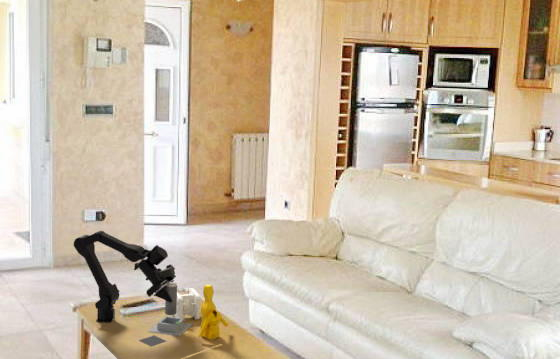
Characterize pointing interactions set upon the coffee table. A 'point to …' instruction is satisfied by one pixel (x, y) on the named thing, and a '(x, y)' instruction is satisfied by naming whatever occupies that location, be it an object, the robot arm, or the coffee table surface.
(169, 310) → the grey cylindrical piece
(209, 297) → the figure statuette
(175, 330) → the port
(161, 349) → the coffee table surface
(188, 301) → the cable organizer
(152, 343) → the pad
